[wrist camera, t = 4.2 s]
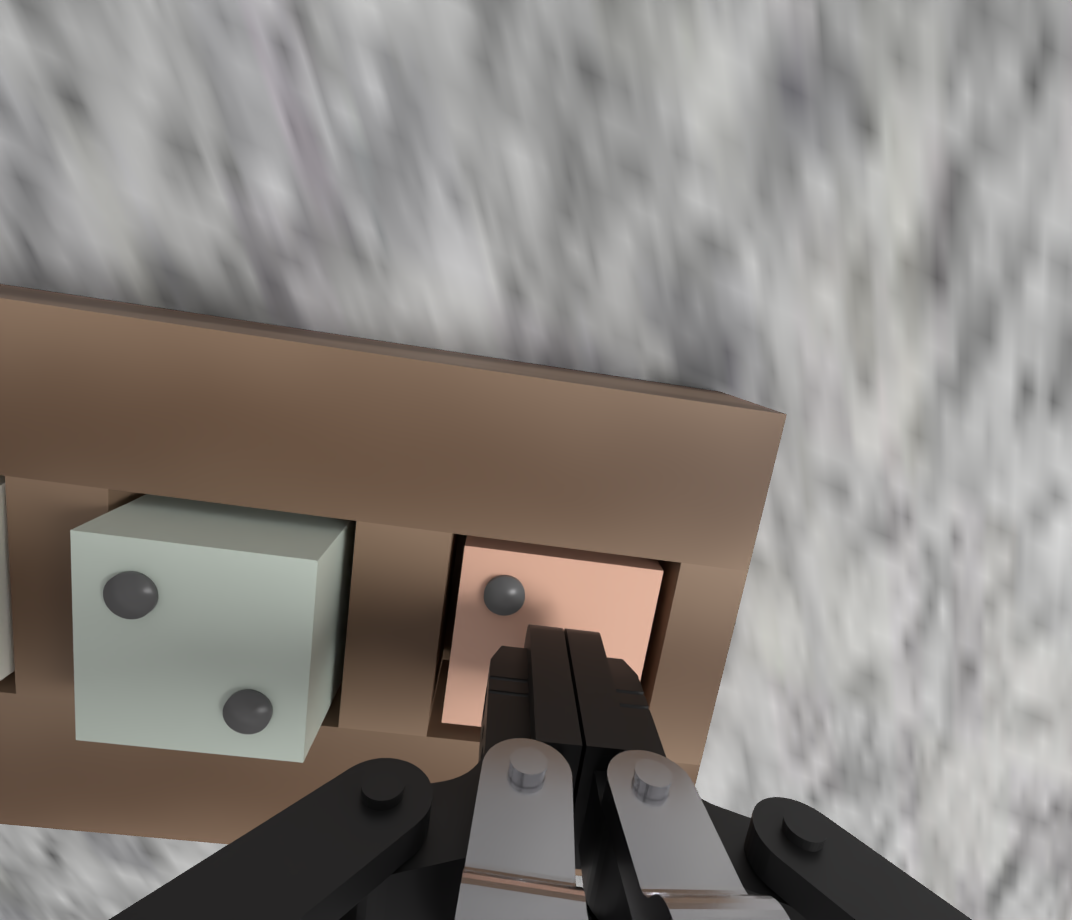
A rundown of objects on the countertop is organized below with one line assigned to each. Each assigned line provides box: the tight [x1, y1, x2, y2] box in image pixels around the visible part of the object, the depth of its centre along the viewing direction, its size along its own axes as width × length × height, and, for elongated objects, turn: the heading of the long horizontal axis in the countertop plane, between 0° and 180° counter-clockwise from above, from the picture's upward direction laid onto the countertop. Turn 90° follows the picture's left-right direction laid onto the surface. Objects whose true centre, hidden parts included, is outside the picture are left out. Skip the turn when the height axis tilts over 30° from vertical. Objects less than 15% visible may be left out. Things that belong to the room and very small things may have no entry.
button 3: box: [442, 535, 664, 727], centre depth 15 cm, size 4×4×3 cm
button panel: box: [0, 284, 786, 876], centre depth 15 cm, size 12×22×4 cm, turn 81°
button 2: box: [70, 494, 356, 763], centre depth 13 cm, size 4×4×3 cm
